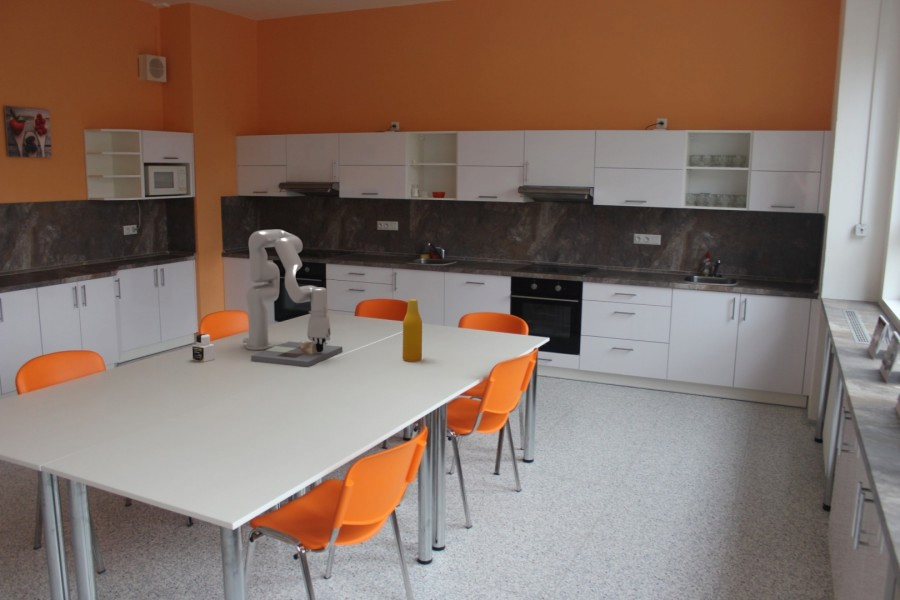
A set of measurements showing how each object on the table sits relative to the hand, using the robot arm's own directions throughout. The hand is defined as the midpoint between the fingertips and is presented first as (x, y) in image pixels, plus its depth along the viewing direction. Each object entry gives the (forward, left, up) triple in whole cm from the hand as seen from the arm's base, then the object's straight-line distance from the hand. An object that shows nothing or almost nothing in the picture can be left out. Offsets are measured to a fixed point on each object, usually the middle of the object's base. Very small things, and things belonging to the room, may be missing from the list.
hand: (319, 351), depth 365 cm
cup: (-18, +29, -4) cm, 34 cm away
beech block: (-6, 0, -1) cm, 6 cm away
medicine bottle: (-48, -24, -4) cm, 53 cm away
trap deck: (-12, 0, -3) cm, 12 cm away
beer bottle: (+41, +15, -4) cm, 44 cm away
